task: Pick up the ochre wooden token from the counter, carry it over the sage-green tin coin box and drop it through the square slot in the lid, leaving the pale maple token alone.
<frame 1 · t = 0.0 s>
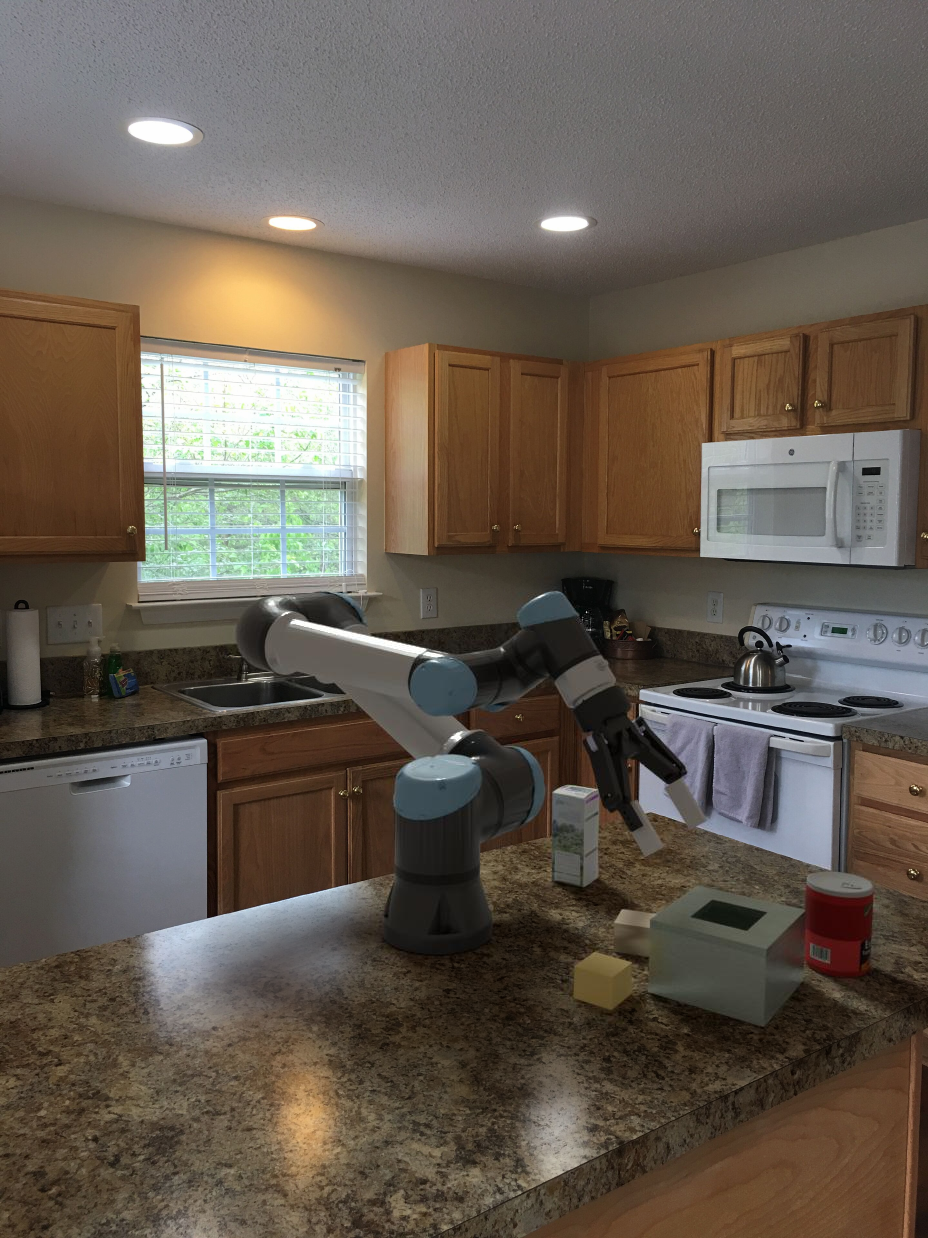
hand: (677, 838, 129), 15 cm above the countertop, tool tilted 35°, fingers open, 13 cm apart
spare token: (636, 948, 133), on the countertop
token: (602, 997, 119), on the countertop
canned food: (836, 967, 127), on the countertop
syrup box: (574, 881, 157), on the countertop
coin box: (726, 986, 121), on the countertop
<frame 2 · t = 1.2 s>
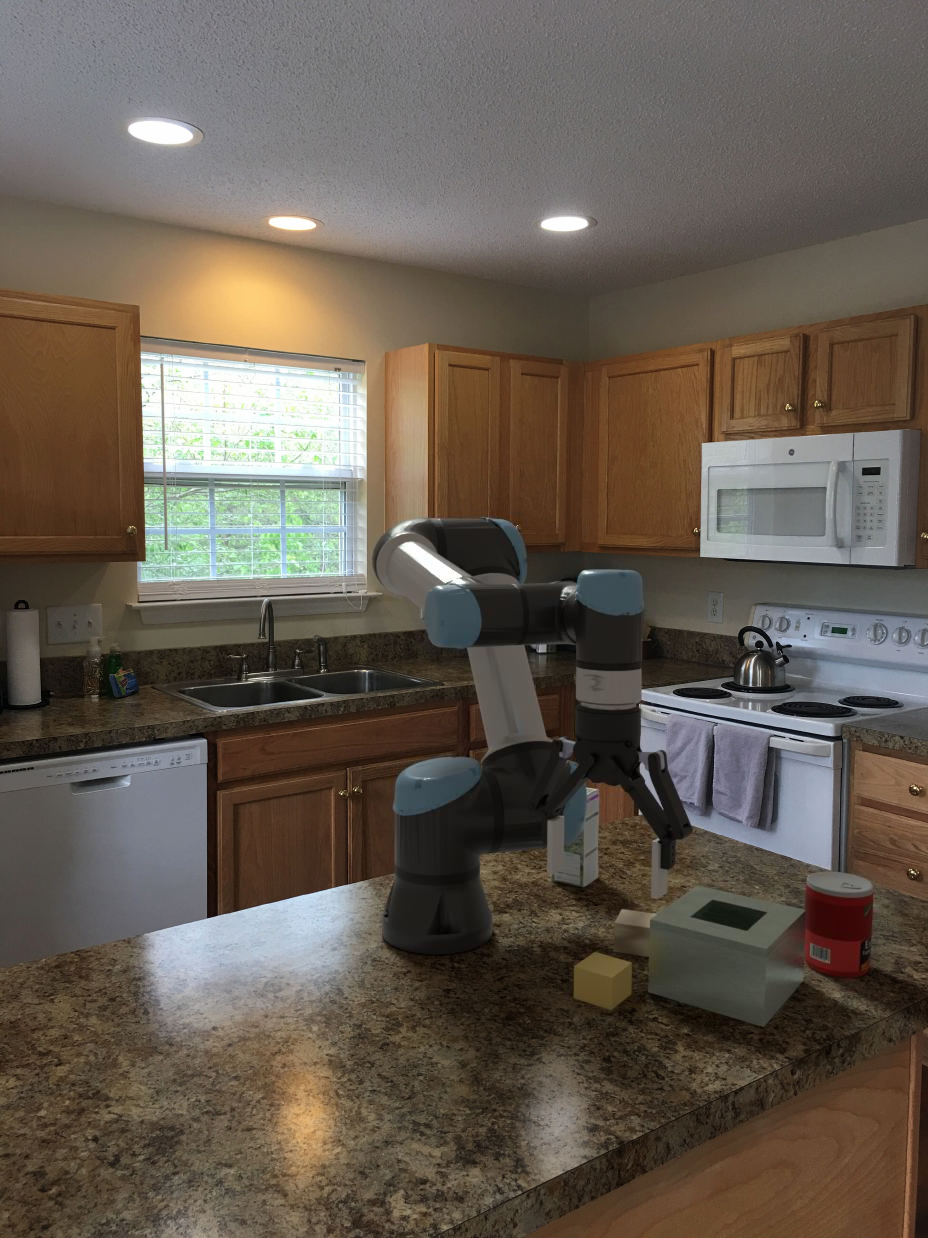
hand: (605, 883, 117), 14 cm above the countertop, tool pointing down, fingers open, 13 cm apart
nothing on the countertop moved.
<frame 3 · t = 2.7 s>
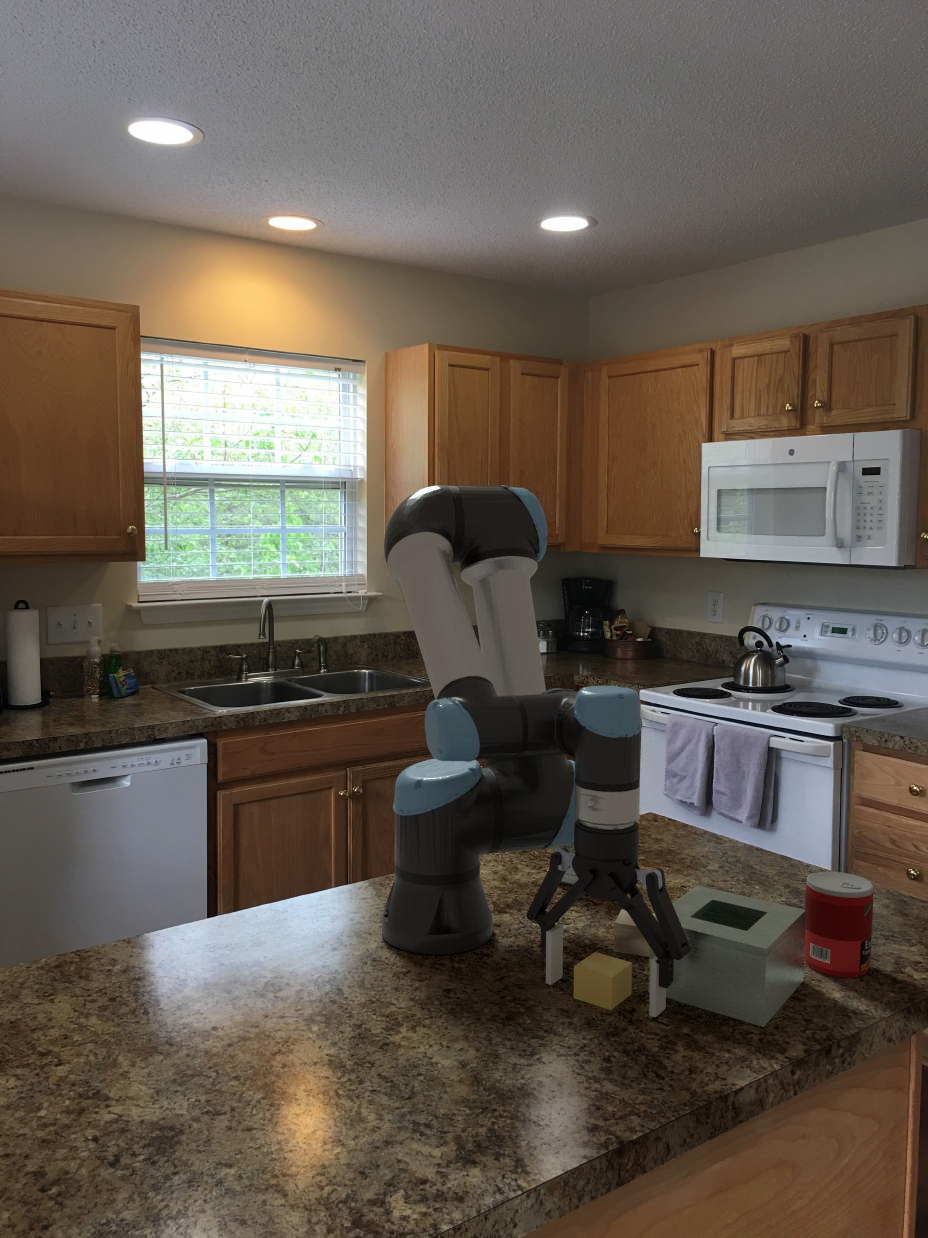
hand: (604, 996, 118), 0 cm above the countertop, tool pointing down, fingers open, 13 cm apart
nothing on the countertop moved.
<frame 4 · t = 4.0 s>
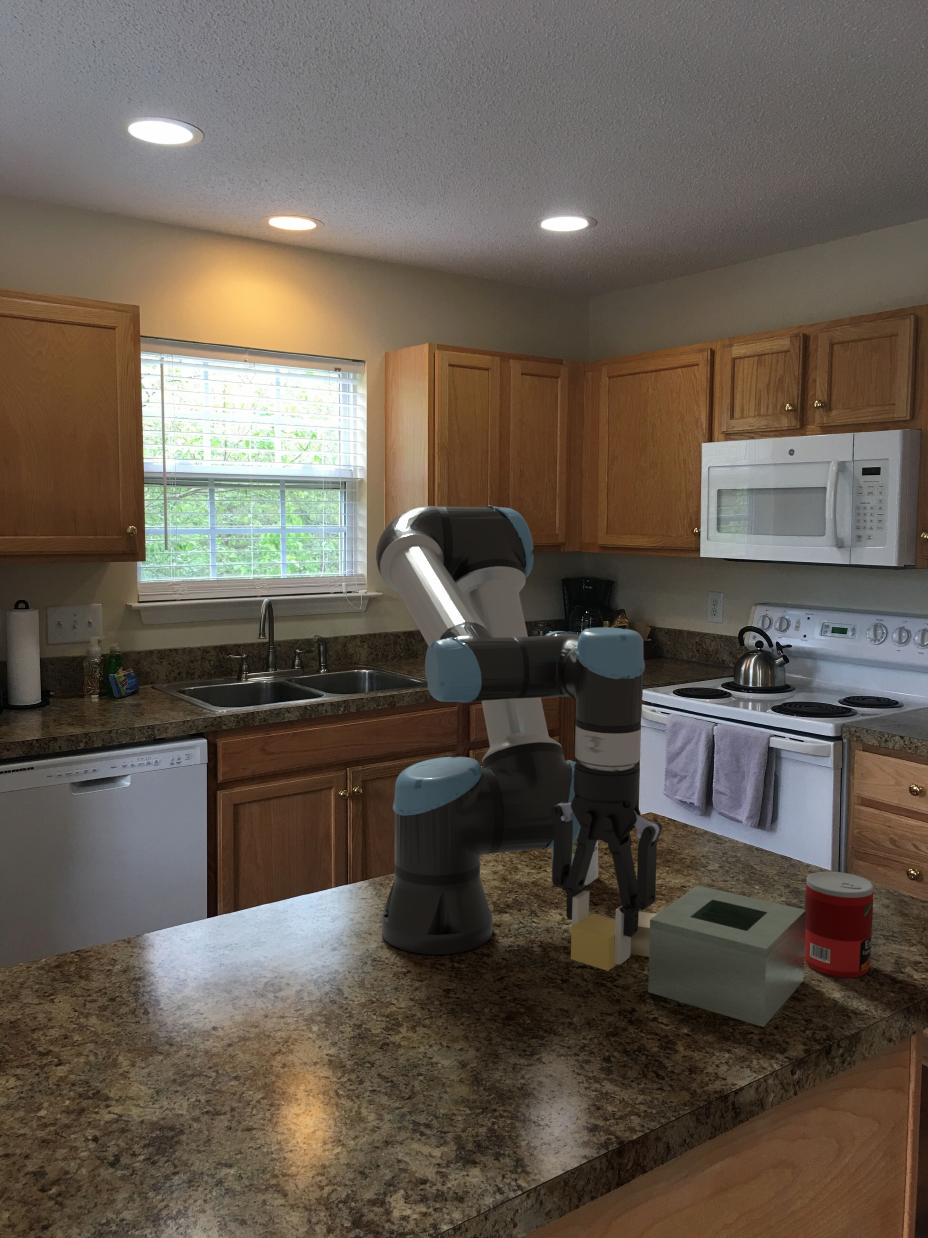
hand: (600, 952, 119), 5 cm above the countertop, tool pointing down, fingers closed on token, 5 cm apart
token: (599, 957, 119), point 4 cm above the countertop, touching gripper
everything else where it was.
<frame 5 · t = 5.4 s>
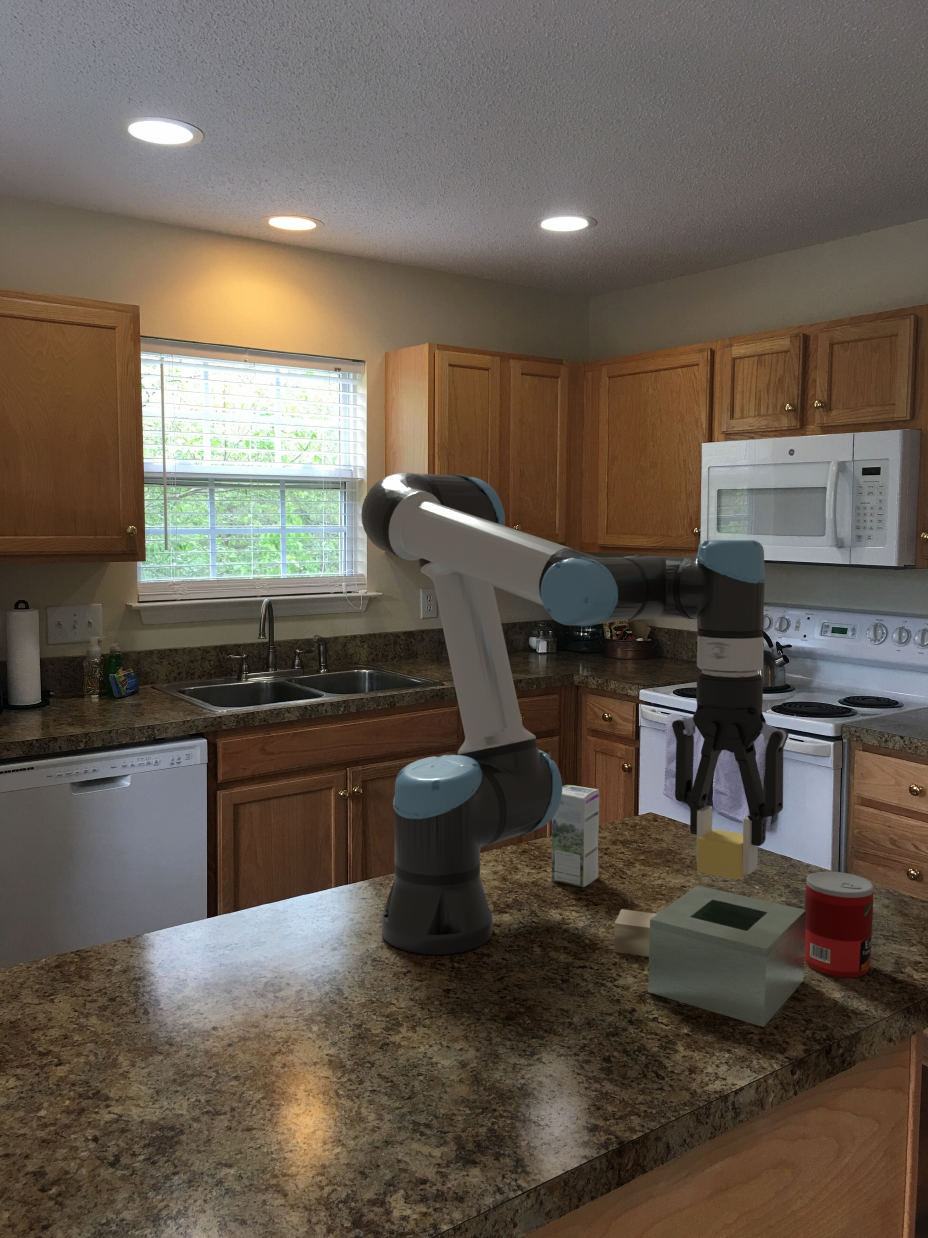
hand: (726, 865, 119), 15 cm above the countertop, tool pointing down, fingers closed on token, 5 cm apart
token: (725, 870, 119), point 15 cm above the countertop, touching gripper
everything else where it was.
when the fingers open (9 cm above the countertop, at t = 6.6 s): token drops 8 cm, resting on coin box.
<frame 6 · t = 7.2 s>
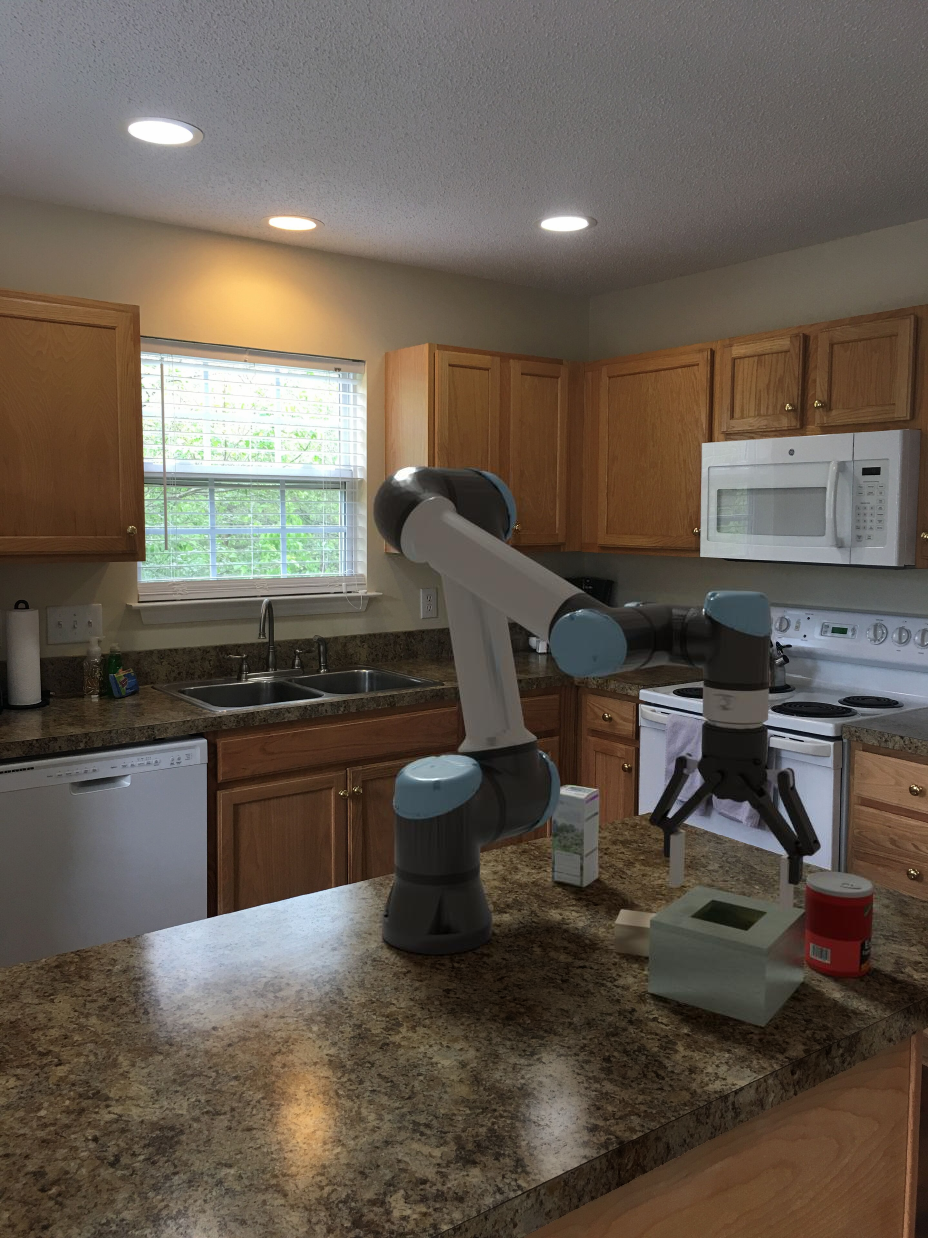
hand: (729, 897, 120), 11 cm above the countertop, tool pointing down, fingers open, 13 cm apart
token: (723, 978, 121), point 1 cm above the countertop, touching coin box
everything else where it was.
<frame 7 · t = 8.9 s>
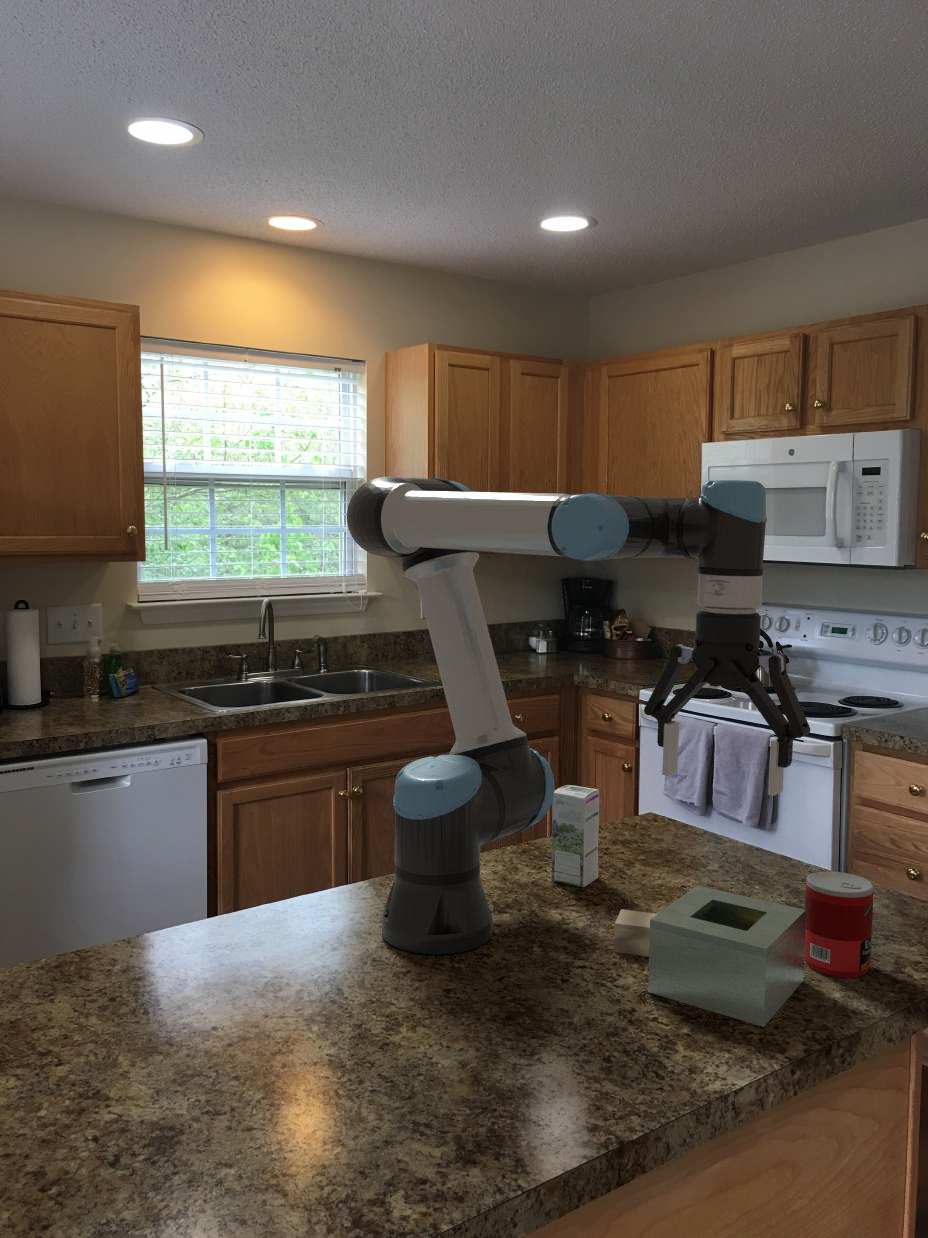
hand: (720, 783, 122), 24 cm above the countertop, tool pointing down, fingers open, 13 cm apart
nothing on the countertop moved.
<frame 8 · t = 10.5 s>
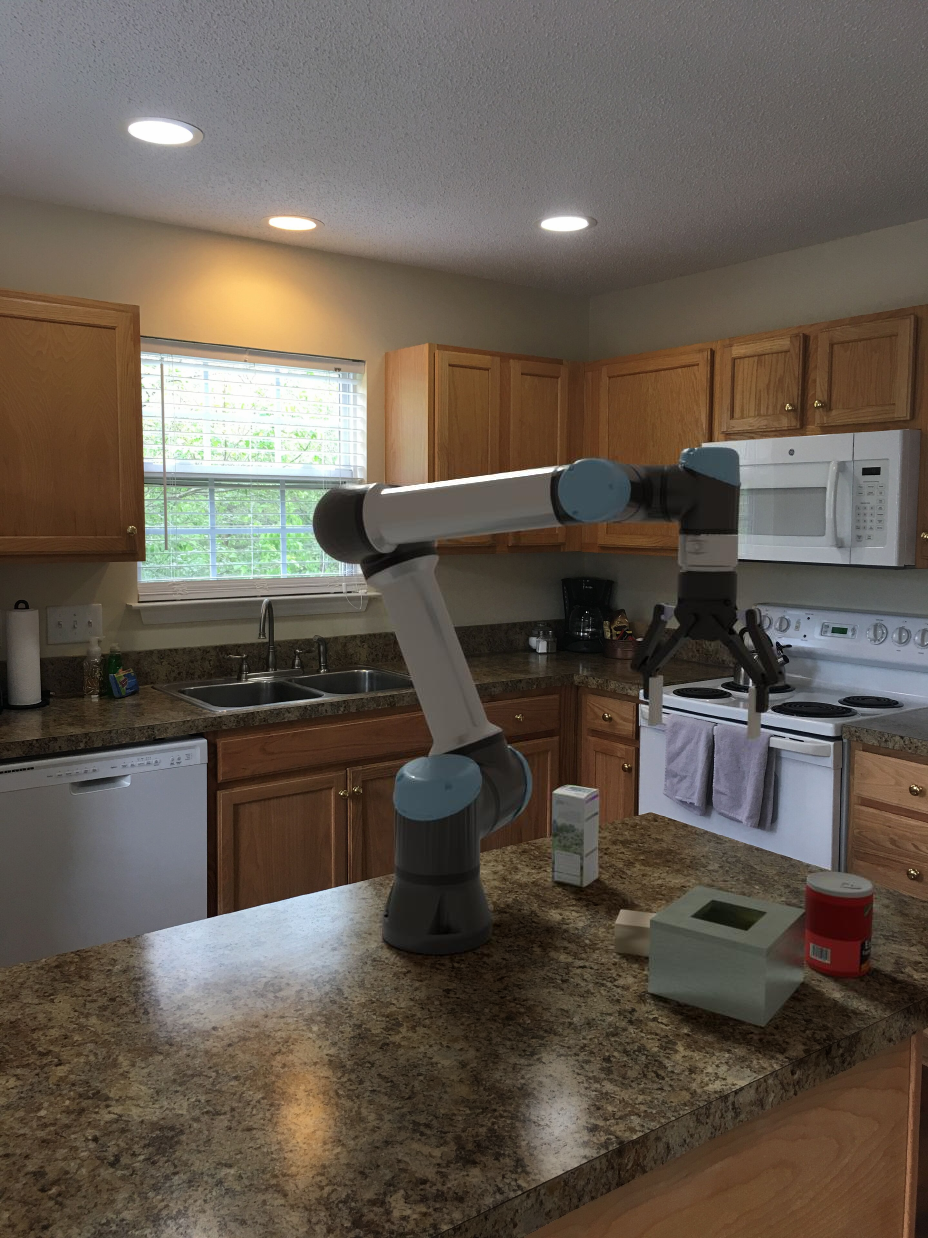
hand: (703, 731, 131), 29 cm above the countertop, tool pointing down, fingers open, 13 cm apart
nothing on the countertop moved.
at the end: token inside the target area on the coin box (0.4 cm from its centre), point 1.0 cm above the coin box's base; the gripper is holding nothing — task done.
